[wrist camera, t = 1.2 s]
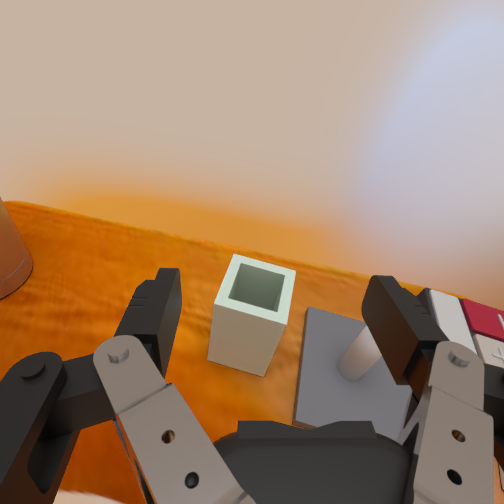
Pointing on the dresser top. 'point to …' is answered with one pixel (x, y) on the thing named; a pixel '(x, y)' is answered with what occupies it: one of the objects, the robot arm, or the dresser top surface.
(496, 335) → the dark gray paneled box
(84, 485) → the dresser top surface
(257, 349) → the sleeve
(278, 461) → the robot arm
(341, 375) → the post stand
